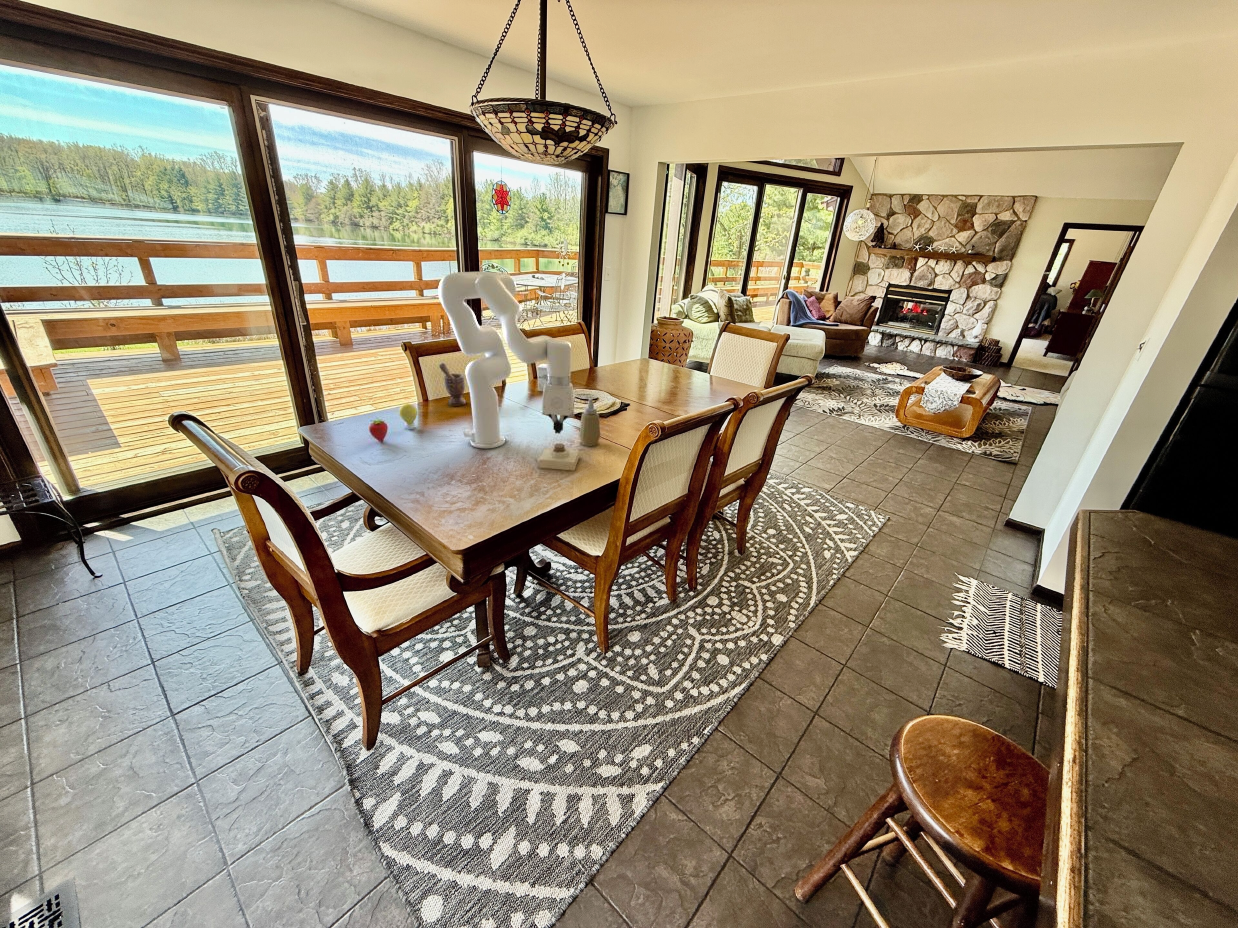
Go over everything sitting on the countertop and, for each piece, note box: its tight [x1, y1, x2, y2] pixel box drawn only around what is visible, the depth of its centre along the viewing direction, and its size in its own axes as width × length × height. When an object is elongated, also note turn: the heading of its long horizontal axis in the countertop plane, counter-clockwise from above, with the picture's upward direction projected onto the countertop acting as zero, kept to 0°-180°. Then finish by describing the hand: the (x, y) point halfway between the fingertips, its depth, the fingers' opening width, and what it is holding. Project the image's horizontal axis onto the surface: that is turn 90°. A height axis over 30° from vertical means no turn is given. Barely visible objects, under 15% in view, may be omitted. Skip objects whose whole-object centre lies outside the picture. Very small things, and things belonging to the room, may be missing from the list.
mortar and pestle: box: [438, 362, 467, 407], centre depth 214 cm, size 12×9×20 cm
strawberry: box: [368, 417, 389, 443], centre depth 175 cm, size 6×8×10 cm
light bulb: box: [398, 403, 418, 430], centre depth 188 cm, size 7×7×10 cm
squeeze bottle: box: [579, 397, 601, 447], centre depth 181 cm, size 8×8×18 cm
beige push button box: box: [538, 446, 580, 471], centre depth 167 cm, size 12×10×5 cm
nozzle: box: [553, 443, 566, 452], centre depth 166 cm, size 4×4×2 cm
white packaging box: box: [537, 363, 547, 392], centre depth 242 cm, size 7×7×13 cm
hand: (558, 432), depth 163 cm, fingers closed
